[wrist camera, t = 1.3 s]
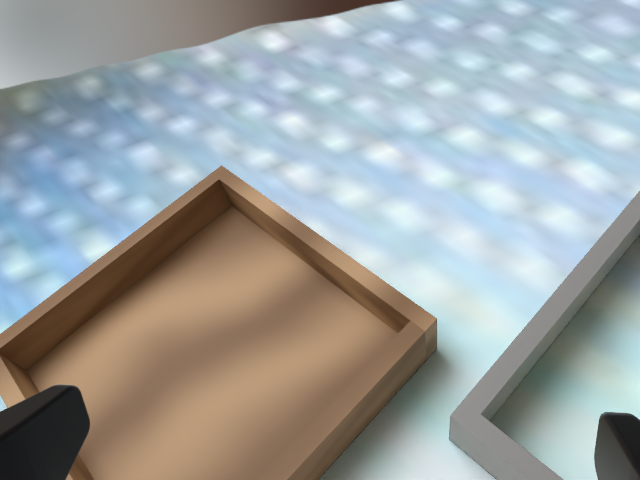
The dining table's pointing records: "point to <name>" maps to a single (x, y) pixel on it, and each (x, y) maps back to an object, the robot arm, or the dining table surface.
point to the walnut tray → (219, 345)
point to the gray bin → (534, 359)
